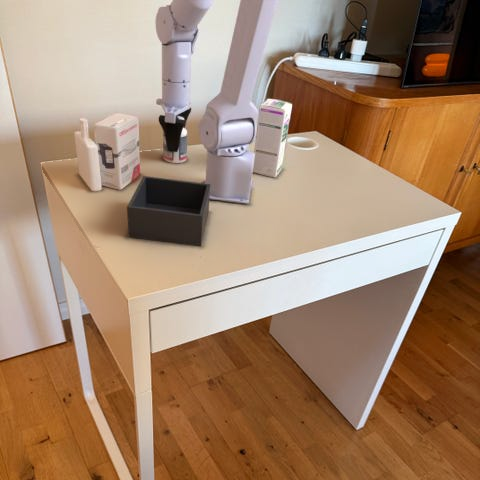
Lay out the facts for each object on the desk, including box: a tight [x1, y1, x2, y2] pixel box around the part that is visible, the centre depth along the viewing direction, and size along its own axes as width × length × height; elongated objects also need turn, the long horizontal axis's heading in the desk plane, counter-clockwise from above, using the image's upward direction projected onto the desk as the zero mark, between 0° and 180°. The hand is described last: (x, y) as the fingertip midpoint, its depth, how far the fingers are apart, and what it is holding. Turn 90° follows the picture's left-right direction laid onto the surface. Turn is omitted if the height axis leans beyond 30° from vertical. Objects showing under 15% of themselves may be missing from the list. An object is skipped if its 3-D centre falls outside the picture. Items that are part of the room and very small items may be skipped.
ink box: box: [93, 112, 141, 191], centre depth 88 cm, size 8×5×12 cm, turn 162°
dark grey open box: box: [126, 175, 211, 247], centre depth 79 cm, size 12×12×6 cm
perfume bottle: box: [73, 117, 102, 192], centre depth 86 cm, size 8×2×12 cm, turn 32°
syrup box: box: [253, 98, 293, 178], centre depth 99 cm, size 6×6×14 cm
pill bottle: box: [162, 116, 188, 164], centre depth 100 cm, size 5×5×9 cm
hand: (175, 146), depth 101 cm, fingers closed on pill bottle, 5 cm apart
